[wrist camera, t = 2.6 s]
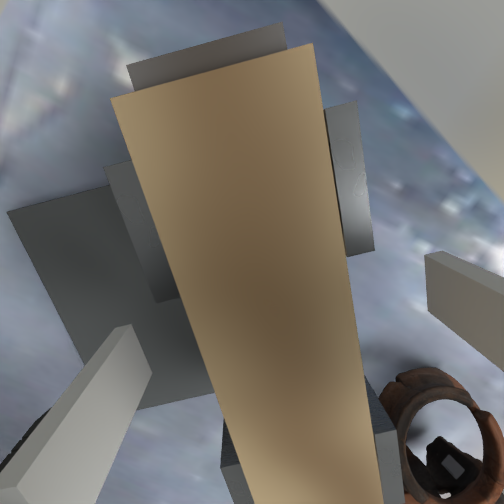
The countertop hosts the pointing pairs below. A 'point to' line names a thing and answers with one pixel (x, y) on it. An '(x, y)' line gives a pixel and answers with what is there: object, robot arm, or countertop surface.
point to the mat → (109, 290)
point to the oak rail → (259, 256)
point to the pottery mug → (444, 444)
